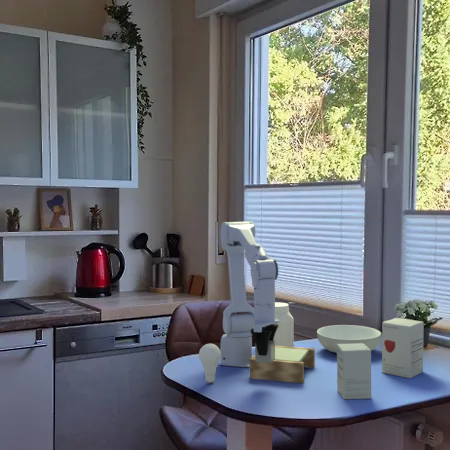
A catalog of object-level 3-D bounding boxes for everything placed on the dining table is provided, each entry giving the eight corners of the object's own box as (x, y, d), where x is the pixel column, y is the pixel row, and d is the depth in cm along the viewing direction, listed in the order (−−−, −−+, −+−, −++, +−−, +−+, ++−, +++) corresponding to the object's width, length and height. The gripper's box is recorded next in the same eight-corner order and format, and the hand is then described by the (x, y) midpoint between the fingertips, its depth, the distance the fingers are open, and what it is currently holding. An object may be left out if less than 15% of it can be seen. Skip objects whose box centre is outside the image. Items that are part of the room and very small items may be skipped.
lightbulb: (205, 387, 159) (204, 347, 158) (195, 381, 164) (195, 342, 164) (225, 384, 162) (224, 344, 161) (215, 378, 167) (214, 340, 167)
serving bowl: (306, 354, 192) (306, 333, 192) (332, 341, 209) (332, 322, 209) (367, 364, 180) (367, 341, 180) (390, 349, 197) (390, 329, 197)
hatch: (256, 360, 168) (256, 357, 168) (268, 349, 181) (268, 346, 181) (298, 364, 164) (298, 361, 164) (308, 352, 176) (308, 349, 176)
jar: (275, 353, 193) (274, 308, 193) (255, 348, 201) (254, 304, 200) (298, 347, 201) (298, 304, 200) (278, 342, 208) (278, 300, 208)
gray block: (255, 361, 159) (255, 343, 159) (259, 357, 163) (259, 339, 163) (271, 363, 158) (271, 344, 158) (275, 358, 162) (275, 340, 162)
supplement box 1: (364, 389, 156) (364, 342, 155) (371, 399, 148) (371, 349, 148) (336, 390, 156) (336, 343, 155) (342, 399, 148) (342, 350, 148)
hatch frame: (249, 378, 167) (249, 359, 167) (266, 362, 183) (265, 344, 183) (302, 383, 162) (302, 363, 162) (314, 366, 178) (314, 348, 178)
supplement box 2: (380, 372, 171) (380, 321, 170) (395, 366, 177) (395, 317, 177) (410, 379, 164) (410, 326, 164) (424, 372, 171) (424, 321, 170)
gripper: (271, 309, 152) (272, 360, 152) (285, 299, 165) (285, 347, 166) (245, 307, 154) (246, 358, 155) (261, 298, 168) (261, 345, 168)
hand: (265, 352), depth 161 cm, fingers closed on gray block, 4 cm apart
